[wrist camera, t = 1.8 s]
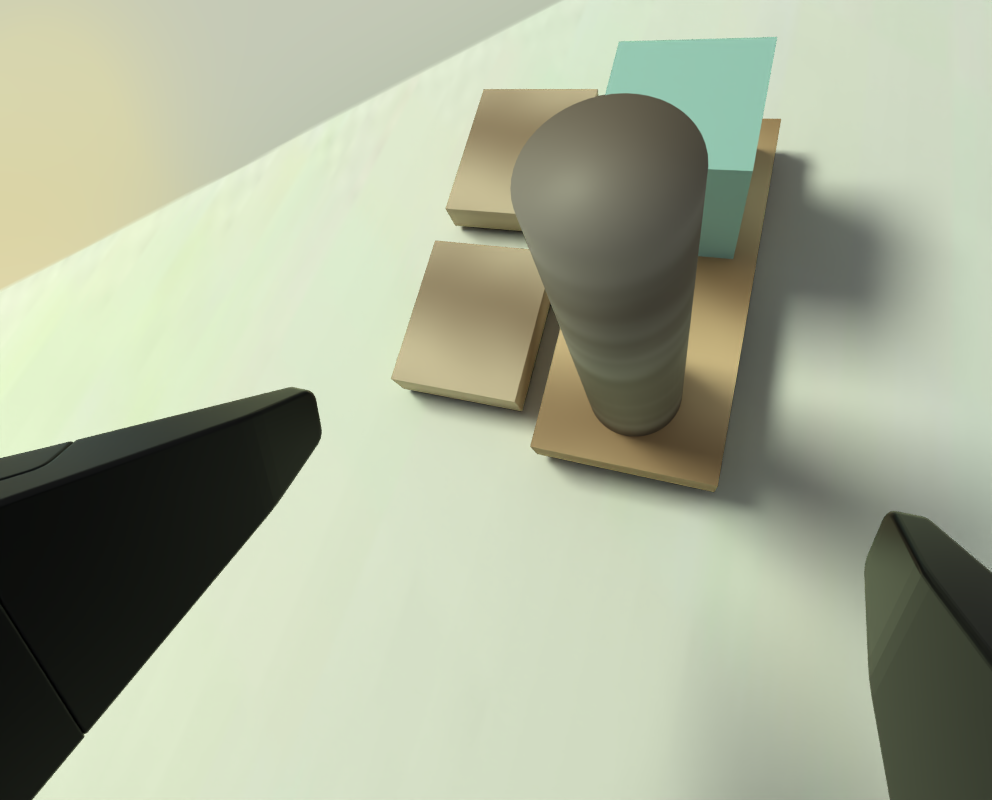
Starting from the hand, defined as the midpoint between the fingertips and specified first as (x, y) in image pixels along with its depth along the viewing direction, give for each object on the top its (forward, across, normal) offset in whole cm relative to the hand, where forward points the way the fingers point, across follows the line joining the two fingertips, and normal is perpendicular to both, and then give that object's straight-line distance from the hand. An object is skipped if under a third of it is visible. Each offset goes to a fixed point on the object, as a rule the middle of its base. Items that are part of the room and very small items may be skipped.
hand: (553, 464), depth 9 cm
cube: (+15, 0, -1) cm, 15 cm away
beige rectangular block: (+15, +6, +1) cm, 16 cm away
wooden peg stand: (+14, 0, +2) cm, 14 cm away
